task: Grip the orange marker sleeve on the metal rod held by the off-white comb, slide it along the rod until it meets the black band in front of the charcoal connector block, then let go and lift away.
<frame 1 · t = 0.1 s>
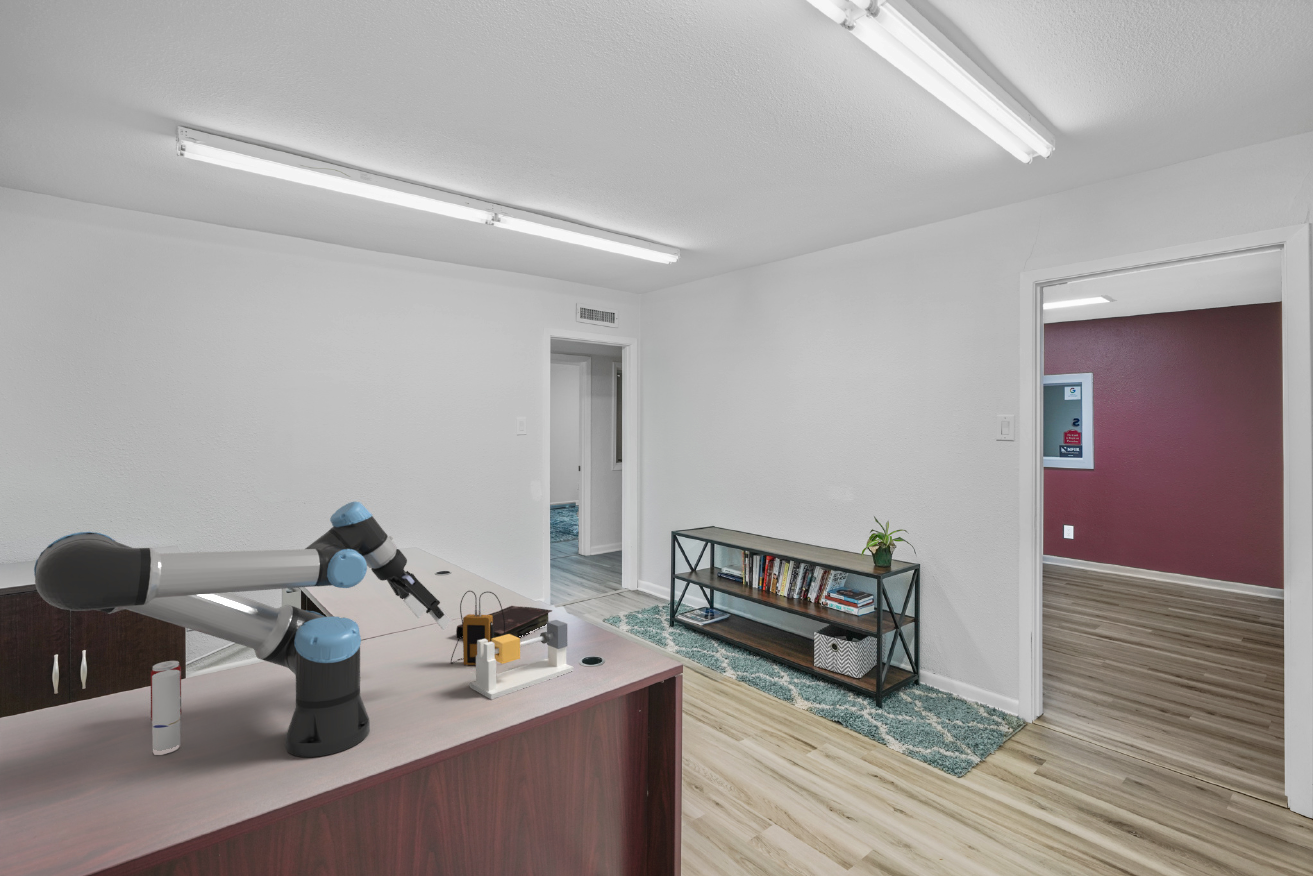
hand: (434, 619, 156), 15 cm above the table, tool tilted 35°, fingers open, 13 cm apart
tube: (166, 751, 122), on the table
multimeter: (482, 660, 171), on the table
sleeve: (505, 648, 153), point 9 cm above the table, slide at 0.0 cm
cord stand: (523, 679, 157), on the table
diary: (506, 633, 196), on the table
soda can: (166, 719, 135), on the table
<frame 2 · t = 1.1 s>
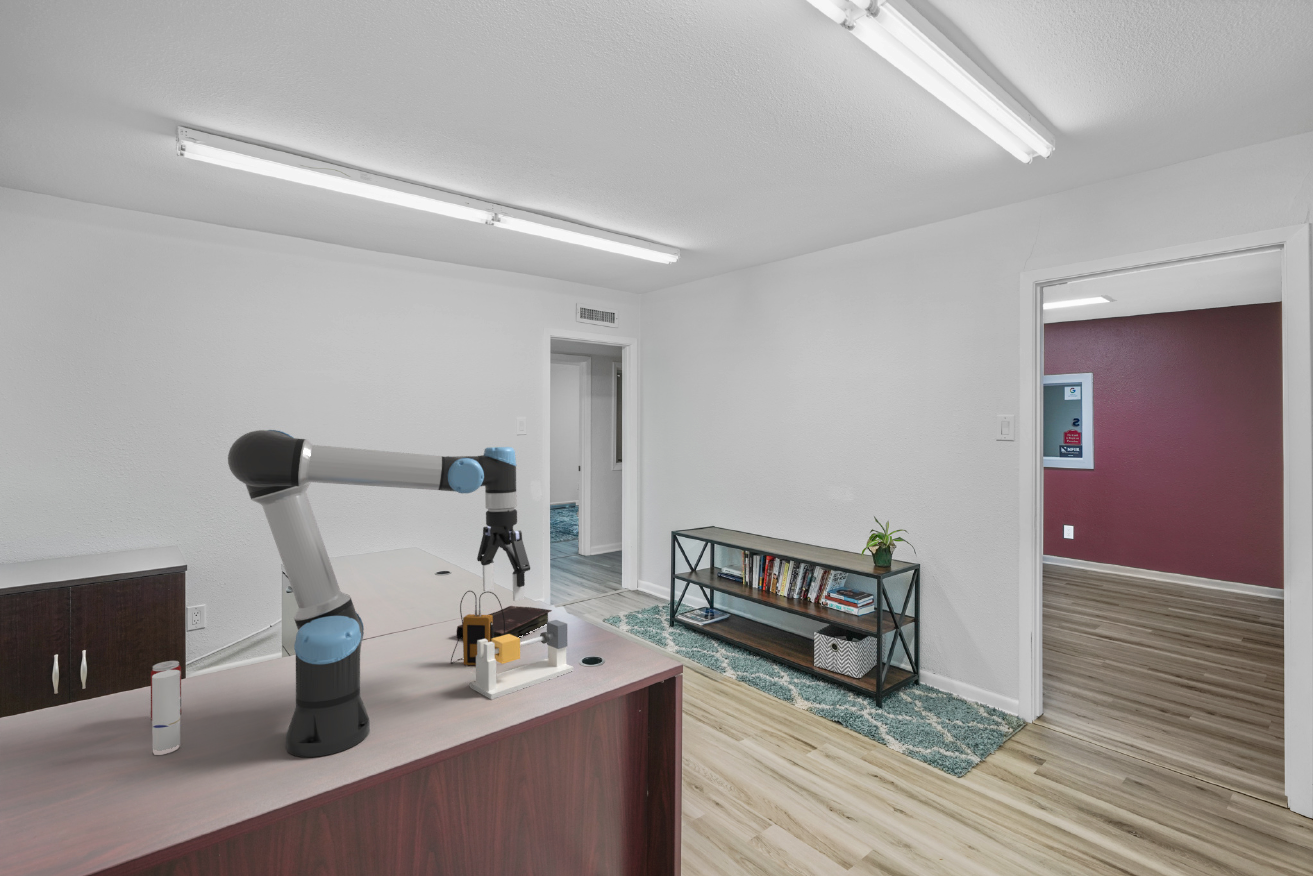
hand: (503, 595, 154), 22 cm above the table, tool pointing down, fingers open, 13 cm apart
nothing on the table moved.
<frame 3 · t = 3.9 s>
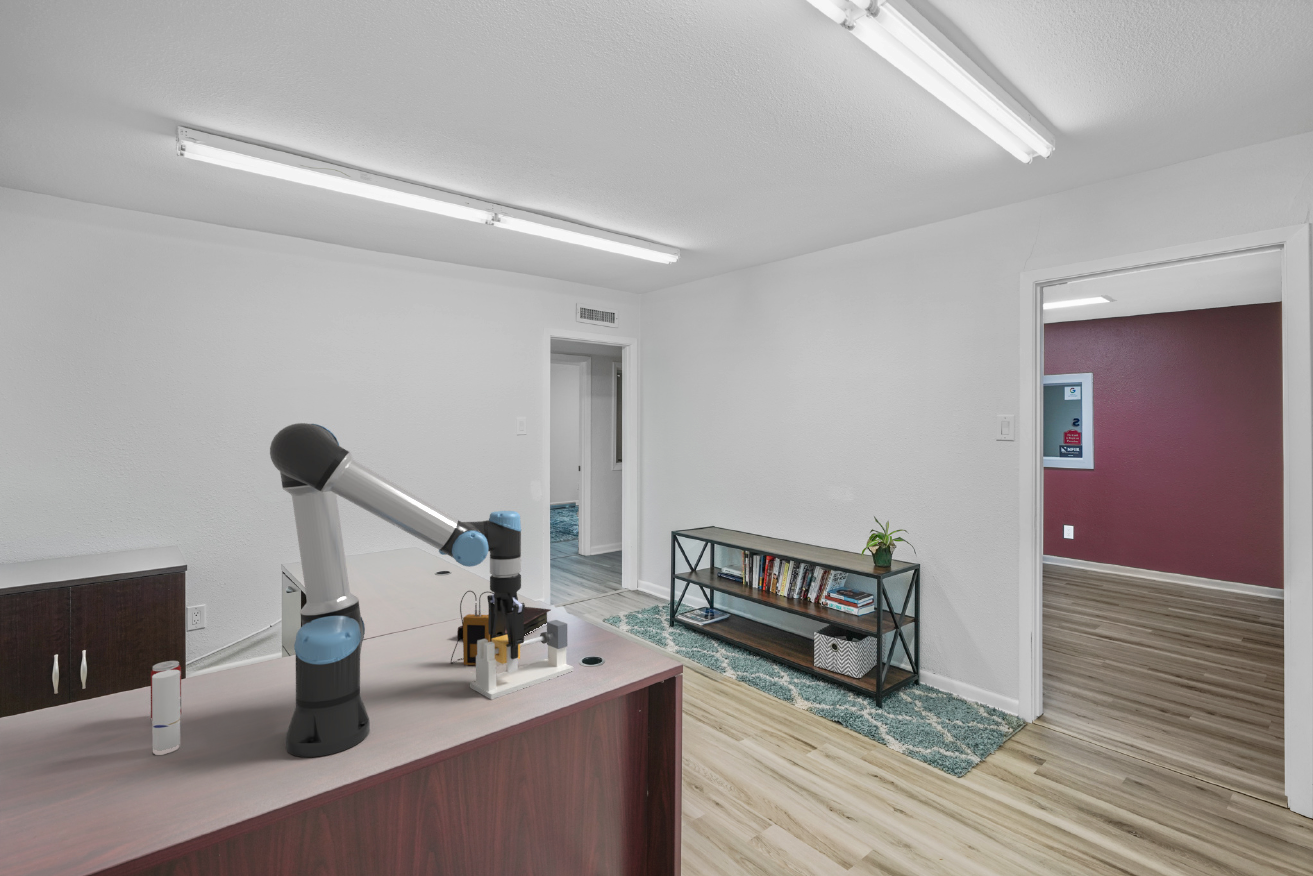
hand: (505, 667, 153), 4 cm above the table, tool pointing down, fingers closed on sleeve, 5 cm apart
sleeve: (505, 648, 153), point 9 cm above the table, slide at 0.0 cm, touching gripper
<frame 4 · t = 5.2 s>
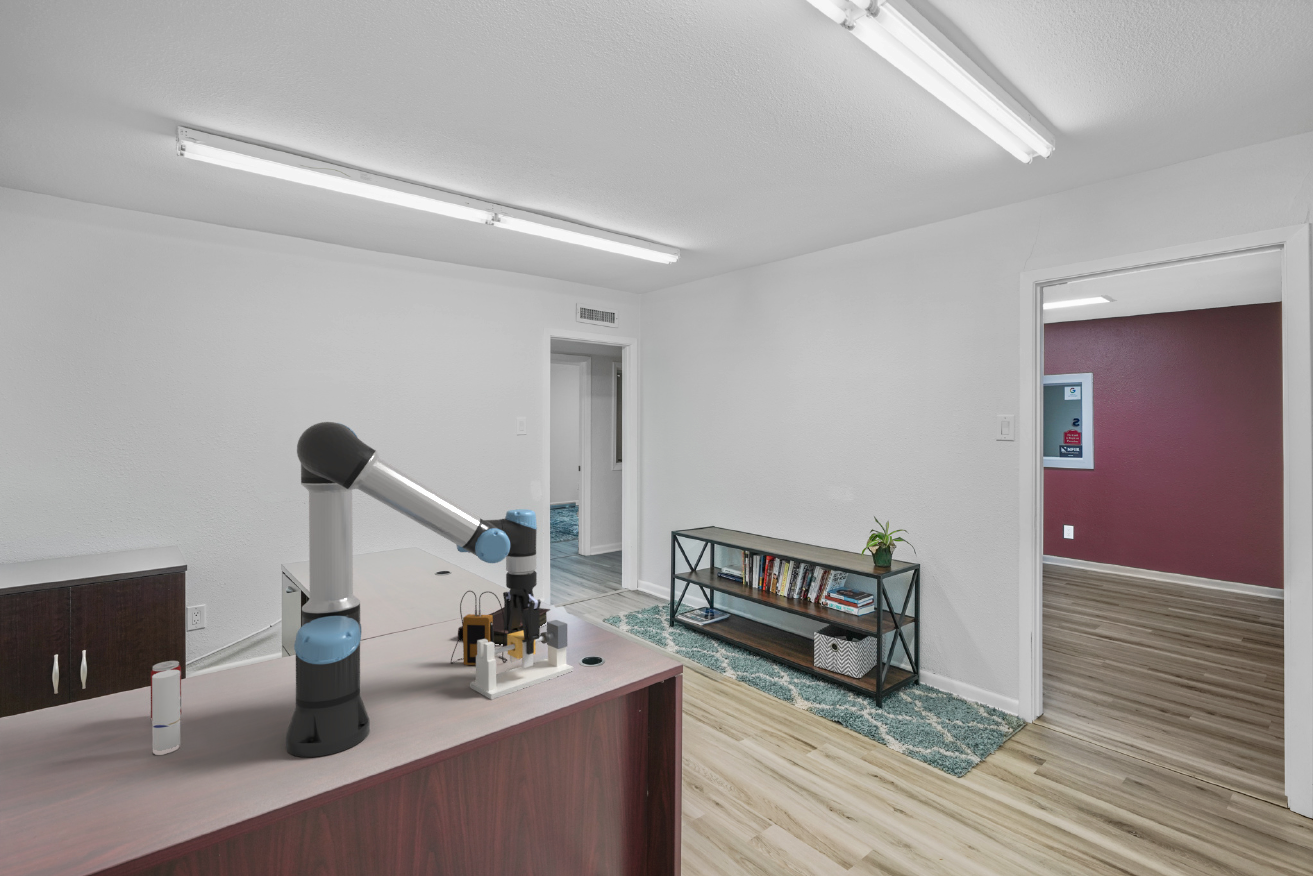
hand: (521, 662, 157), 4 cm above the table, tool pointing down, fingers closed on sleeve, 5 cm apart
sleeve: (521, 644, 157), point 9 cm above the table, slide at 4.5 cm, touching gripper
everything else where it was.
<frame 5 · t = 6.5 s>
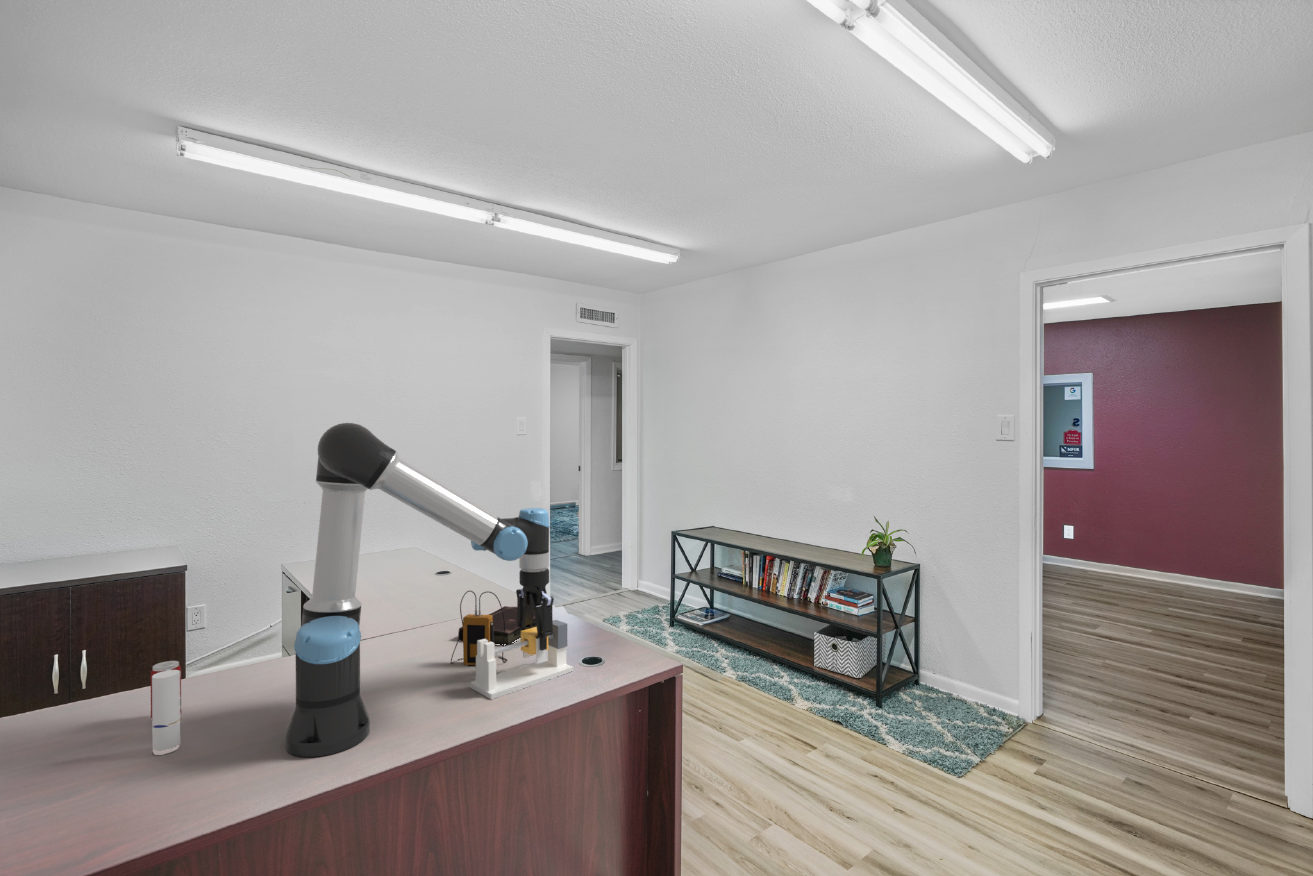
hand: (534, 659, 159), 4 cm above the table, tool pointing down, fingers closed on sleeve, 5 cm apart
sleeve: (534, 640, 159), point 9 cm above the table, slide at 8.4 cm, touching gripper
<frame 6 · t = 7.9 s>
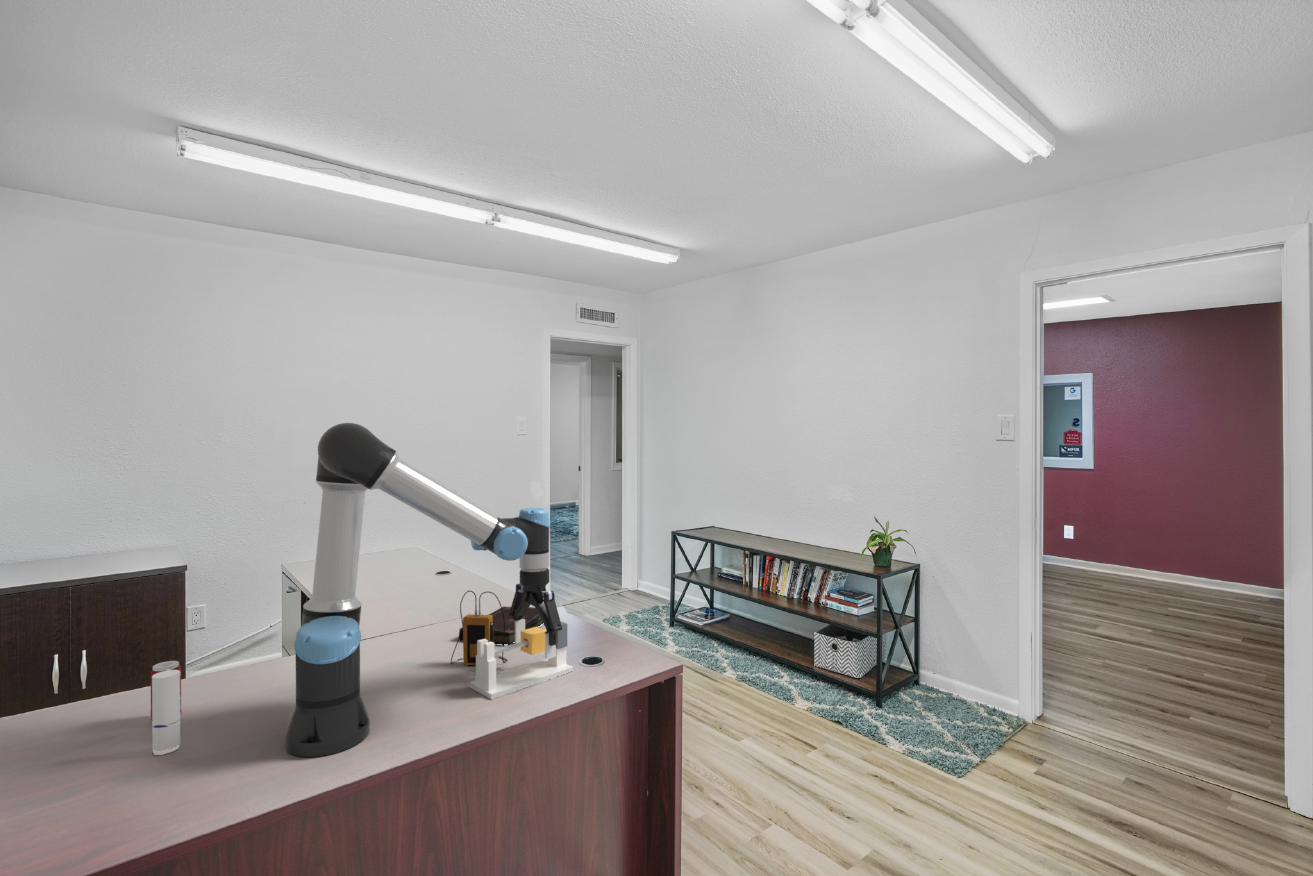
hand: (534, 651, 159), 6 cm above the table, tool pointing down, fingers open, 13 cm apart
sleeve: (534, 640, 159), point 9 cm above the table, slide at 8.4 cm
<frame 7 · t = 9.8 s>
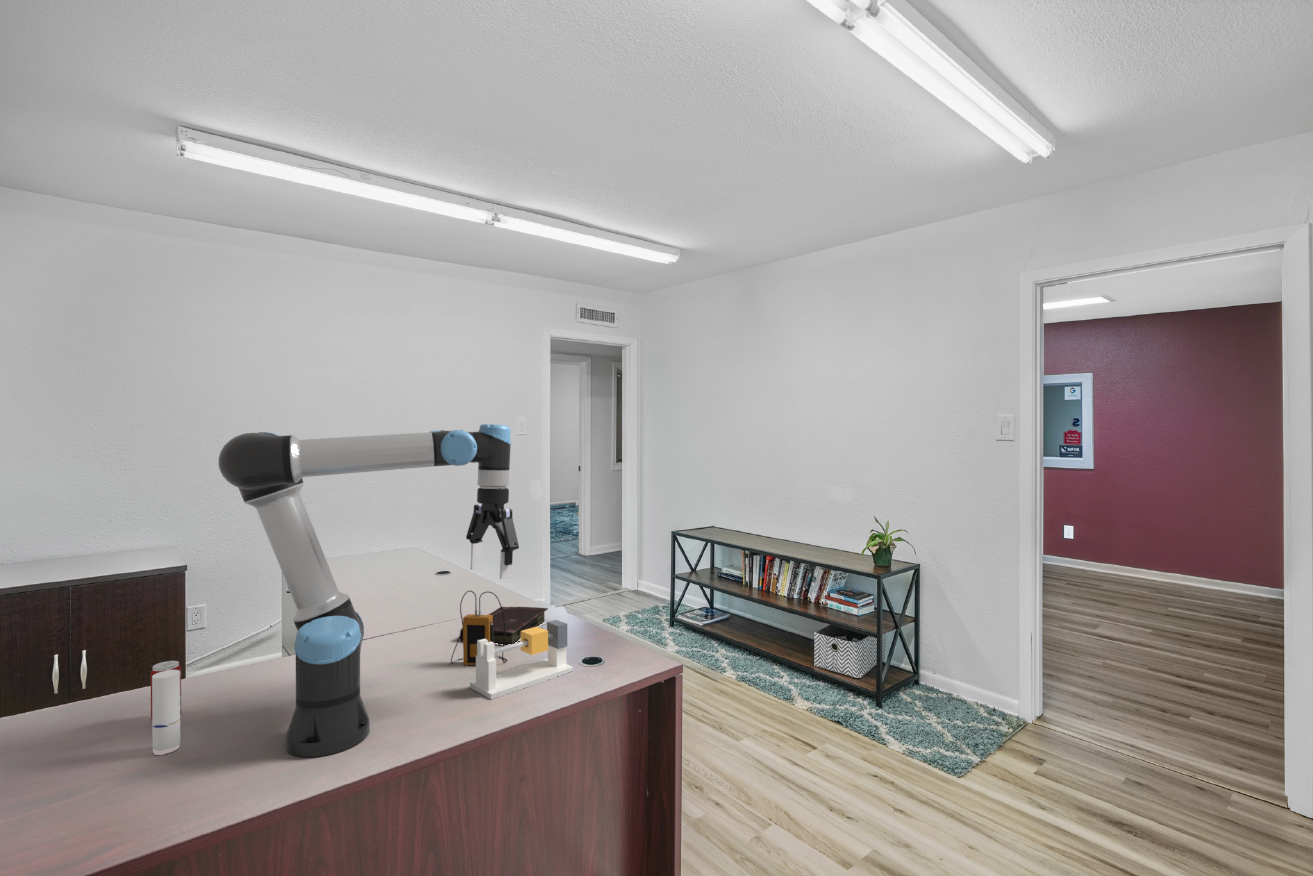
hand: (490, 573, 152), 28 cm above the table, tool pointing down, fingers open, 13 cm apart
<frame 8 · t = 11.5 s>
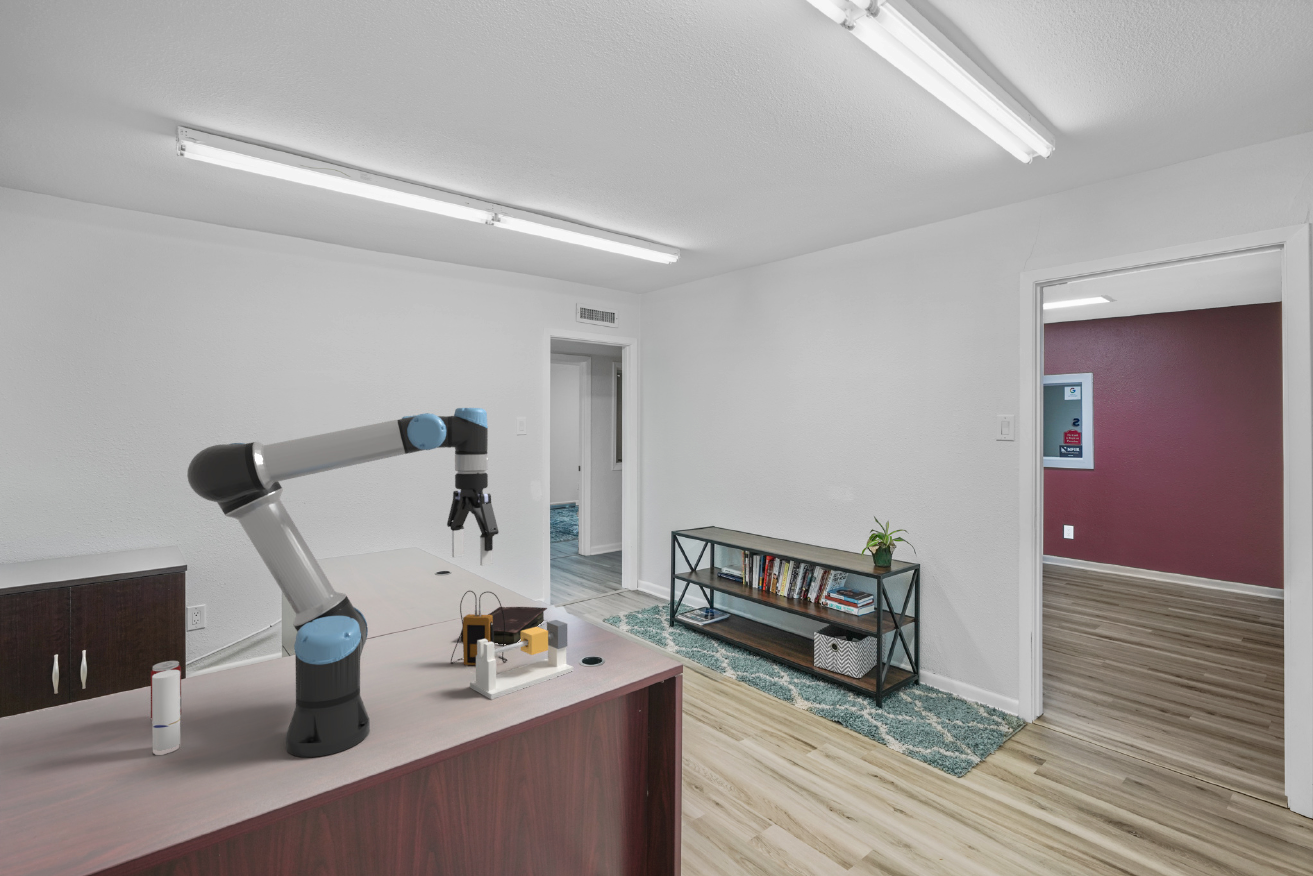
hand: (471, 560, 149), 32 cm above the table, tool pointing down, fingers open, 13 cm apart
at the end: sleeve slide at 8.4 cm; the gripper is holding nothing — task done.
